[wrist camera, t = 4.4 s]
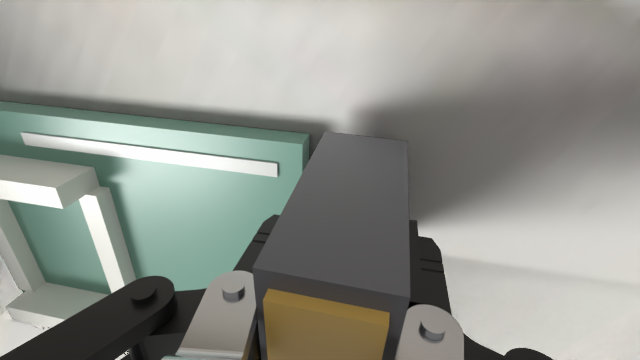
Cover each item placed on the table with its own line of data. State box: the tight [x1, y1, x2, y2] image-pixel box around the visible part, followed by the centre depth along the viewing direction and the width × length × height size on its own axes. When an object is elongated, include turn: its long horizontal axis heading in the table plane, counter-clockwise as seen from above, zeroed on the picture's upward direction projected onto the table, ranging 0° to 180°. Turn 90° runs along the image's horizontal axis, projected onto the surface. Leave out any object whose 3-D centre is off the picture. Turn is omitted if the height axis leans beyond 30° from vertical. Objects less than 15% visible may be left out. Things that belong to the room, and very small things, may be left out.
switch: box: [252, 132, 410, 360], centre depth 10 cm, size 3×5×8 cm, turn 177°
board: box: [0, 101, 310, 328], centre depth 17 cm, size 18×14×3 cm
